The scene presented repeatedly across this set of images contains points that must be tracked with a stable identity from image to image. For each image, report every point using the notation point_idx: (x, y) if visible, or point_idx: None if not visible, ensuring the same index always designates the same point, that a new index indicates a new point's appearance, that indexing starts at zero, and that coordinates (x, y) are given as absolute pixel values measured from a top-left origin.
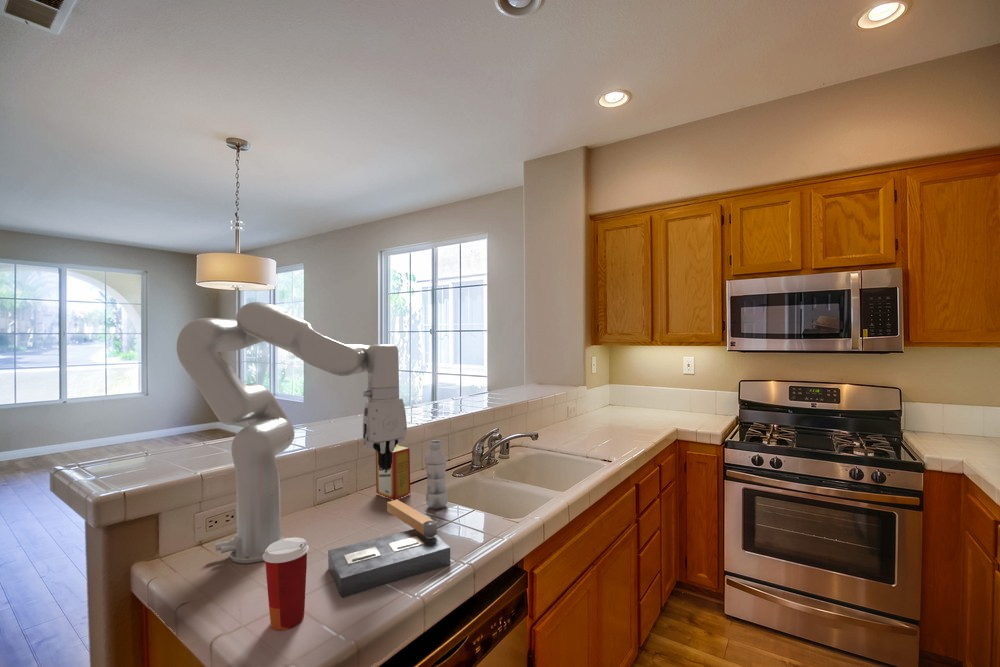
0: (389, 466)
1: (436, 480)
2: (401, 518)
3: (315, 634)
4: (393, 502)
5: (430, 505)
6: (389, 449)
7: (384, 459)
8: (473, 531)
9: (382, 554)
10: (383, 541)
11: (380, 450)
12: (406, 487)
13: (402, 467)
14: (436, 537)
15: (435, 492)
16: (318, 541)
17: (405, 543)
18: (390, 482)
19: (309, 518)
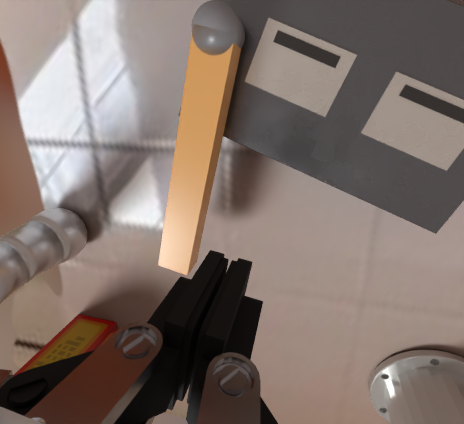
0: (221, 258)
1: (19, 247)
2: (210, 188)
3: None
4: (177, 258)
5: (84, 231)
6: (158, 356)
7: (236, 312)
8: (89, 51)
9: (385, 77)
10: (318, 144)
11: (258, 402)
12: (73, 330)
13: None
14: None
15: (50, 234)
16: (332, 325)
17: (298, 70)
18: None
19: (269, 405)
